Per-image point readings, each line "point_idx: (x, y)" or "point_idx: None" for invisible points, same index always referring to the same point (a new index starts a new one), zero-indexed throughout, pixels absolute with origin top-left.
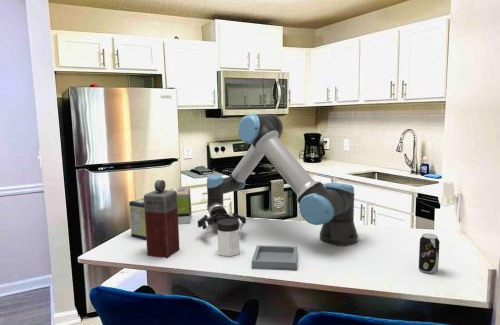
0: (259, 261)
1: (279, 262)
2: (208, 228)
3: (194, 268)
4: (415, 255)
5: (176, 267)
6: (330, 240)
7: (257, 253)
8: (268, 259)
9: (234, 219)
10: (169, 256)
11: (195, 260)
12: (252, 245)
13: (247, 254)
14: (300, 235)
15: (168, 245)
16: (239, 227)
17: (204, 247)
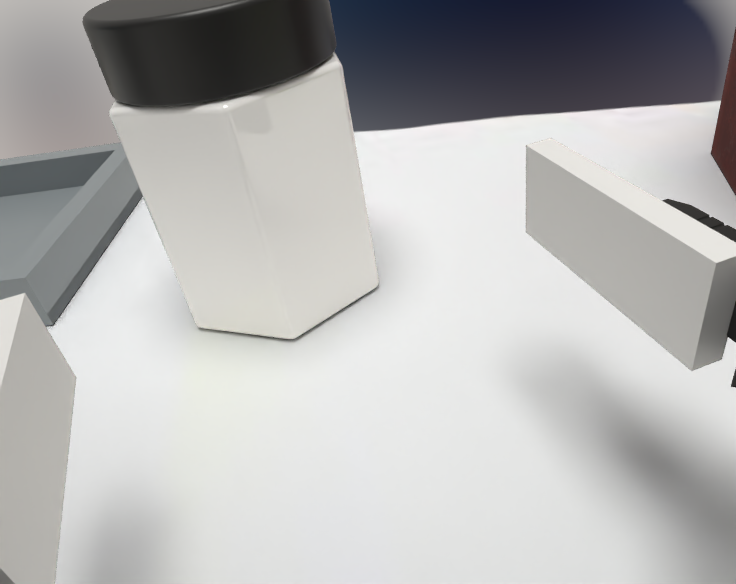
0: (100, 146)
1: (1, 161)
2: (529, 180)
3: (453, 126)
4: None
5: (557, 113)
6: None
7: (77, 192)
8: (29, 232)
9: (119, 16)
10: (714, 155)
11: (494, 168)
12: None
13: (142, 281)
14: None
15: (732, 65)
16: (65, 455)
17: (547, 314)
